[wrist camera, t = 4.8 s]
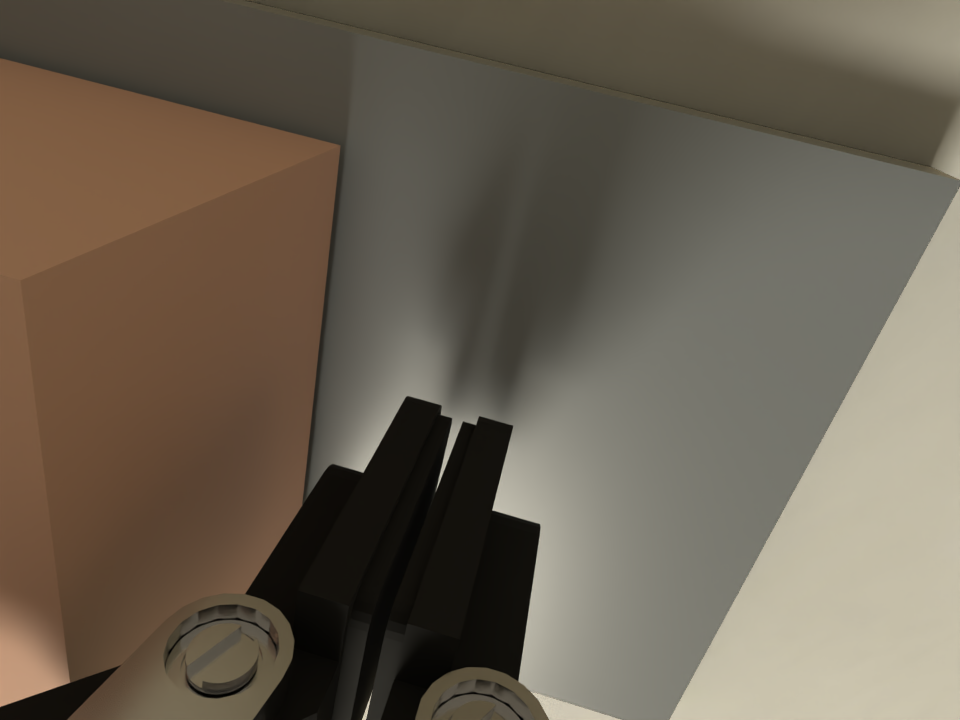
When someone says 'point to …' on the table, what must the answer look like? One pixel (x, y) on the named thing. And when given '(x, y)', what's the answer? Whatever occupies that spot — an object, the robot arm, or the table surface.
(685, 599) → the track
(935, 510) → the table surface
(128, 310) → the block
